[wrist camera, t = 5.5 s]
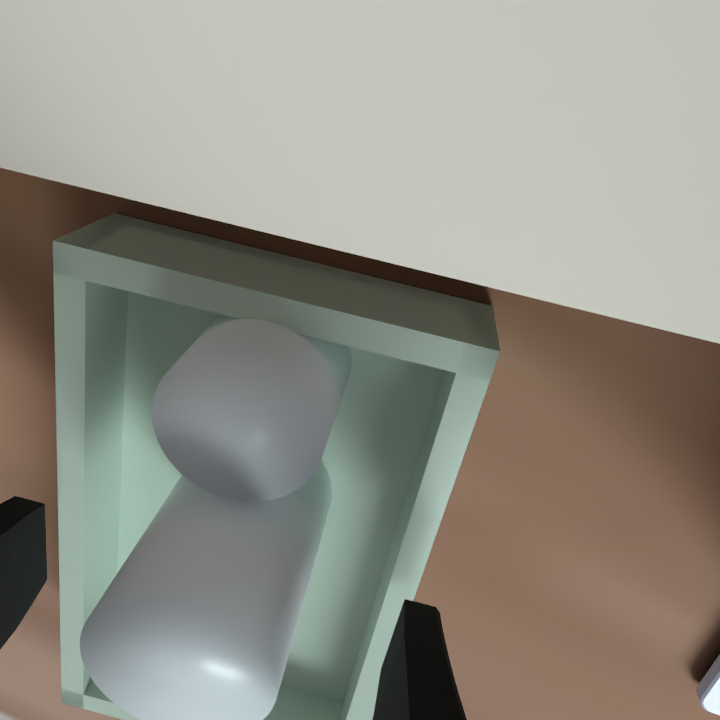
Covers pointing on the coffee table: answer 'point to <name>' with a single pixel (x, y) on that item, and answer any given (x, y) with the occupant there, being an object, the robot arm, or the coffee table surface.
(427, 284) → the coffee table surface
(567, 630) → the coffee table surface
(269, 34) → the shelf
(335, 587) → the tray
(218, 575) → the round-ended grey cylinder
